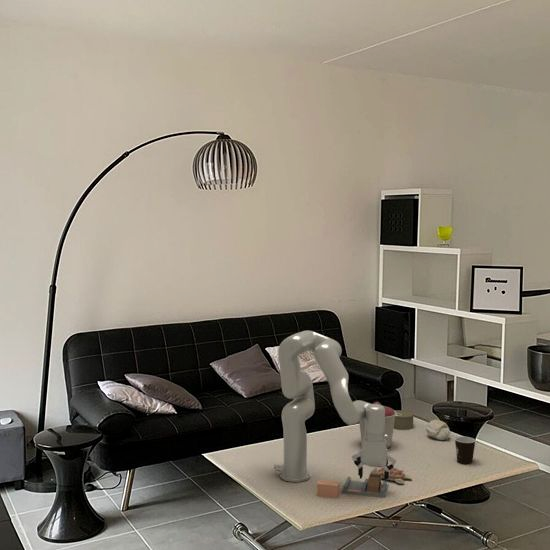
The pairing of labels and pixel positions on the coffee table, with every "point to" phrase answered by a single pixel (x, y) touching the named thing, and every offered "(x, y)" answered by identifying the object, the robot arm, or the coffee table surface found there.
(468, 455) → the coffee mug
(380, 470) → the decorative turtle
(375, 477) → the walnut bar
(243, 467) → the coffee table surface
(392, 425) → the canister
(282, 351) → the robot arm
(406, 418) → the can
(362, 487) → the slot rack
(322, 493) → the terracotta bar
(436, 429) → the fossil replica
